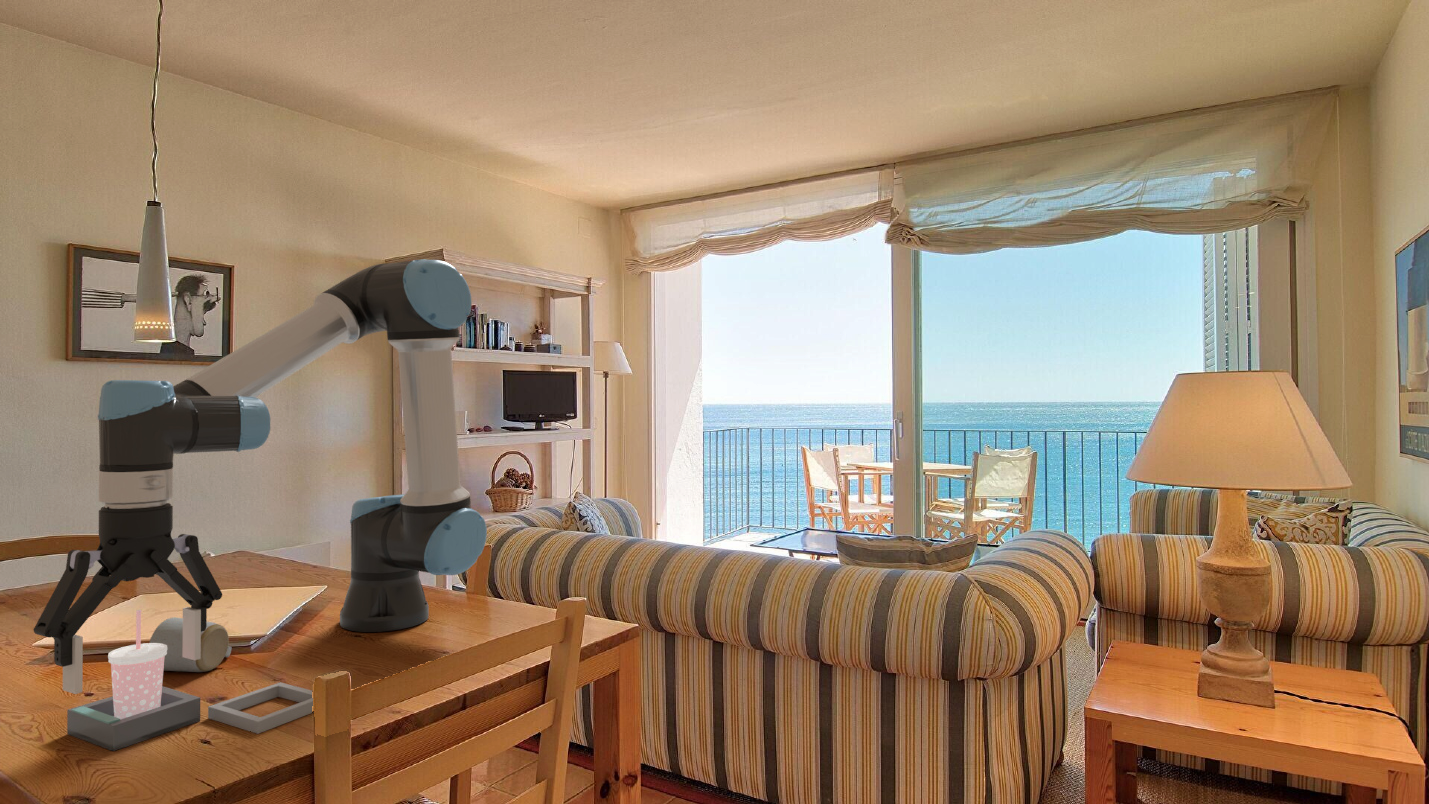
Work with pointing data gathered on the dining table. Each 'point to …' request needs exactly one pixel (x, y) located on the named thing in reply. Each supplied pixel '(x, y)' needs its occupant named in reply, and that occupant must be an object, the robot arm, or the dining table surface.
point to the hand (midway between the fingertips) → (135, 673)
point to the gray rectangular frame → (234, 717)
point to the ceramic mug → (211, 646)
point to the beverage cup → (137, 675)
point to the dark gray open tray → (132, 720)
